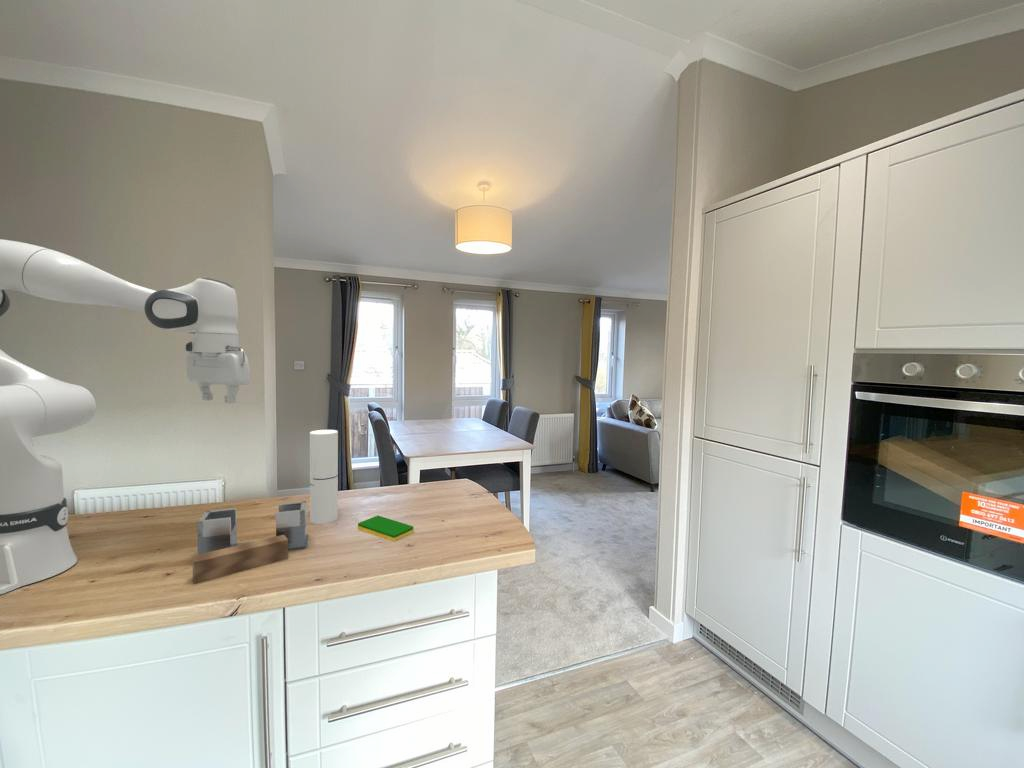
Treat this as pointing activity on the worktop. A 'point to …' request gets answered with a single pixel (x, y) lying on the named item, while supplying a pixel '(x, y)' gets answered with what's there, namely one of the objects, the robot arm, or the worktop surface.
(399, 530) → the dish sponge
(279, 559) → the rail
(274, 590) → the worktop surface
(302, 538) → the bracket stand
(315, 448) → the cylindrical container
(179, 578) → the worktop surface
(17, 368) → the robot arm
